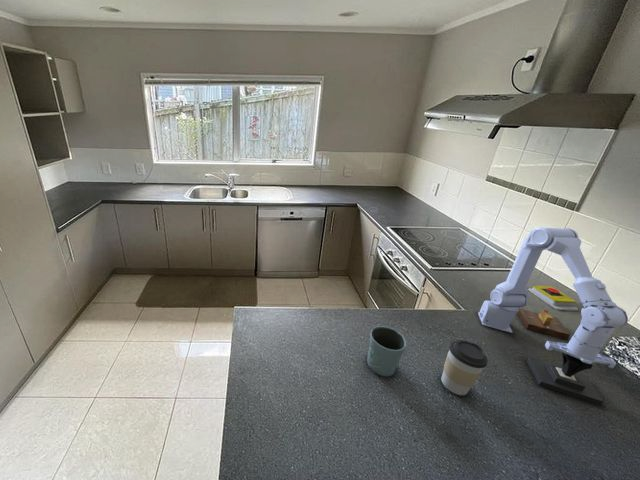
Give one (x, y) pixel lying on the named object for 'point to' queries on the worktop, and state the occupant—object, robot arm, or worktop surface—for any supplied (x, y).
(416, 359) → the worktop surface
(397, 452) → the worktop surface
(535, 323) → the brown flat block
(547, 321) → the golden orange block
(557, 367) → the white square block
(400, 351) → the teal cup
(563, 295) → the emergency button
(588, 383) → the dark grey base plate
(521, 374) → the worktop surface
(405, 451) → the worktop surface
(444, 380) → the coffee cup
